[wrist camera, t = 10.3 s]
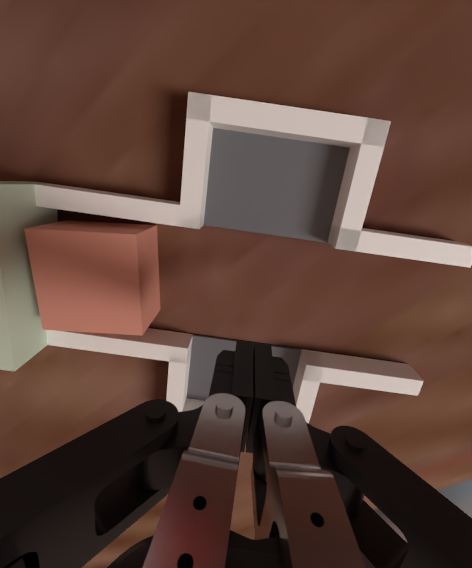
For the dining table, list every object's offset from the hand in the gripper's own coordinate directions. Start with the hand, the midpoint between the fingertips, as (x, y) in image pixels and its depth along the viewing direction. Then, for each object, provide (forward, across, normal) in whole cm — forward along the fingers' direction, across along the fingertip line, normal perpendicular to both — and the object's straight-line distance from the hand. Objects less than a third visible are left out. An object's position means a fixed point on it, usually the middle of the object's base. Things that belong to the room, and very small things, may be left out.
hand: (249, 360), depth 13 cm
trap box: (+8, +1, 0) cm, 8 cm away
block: (+8, +10, -1) cm, 13 cm away
